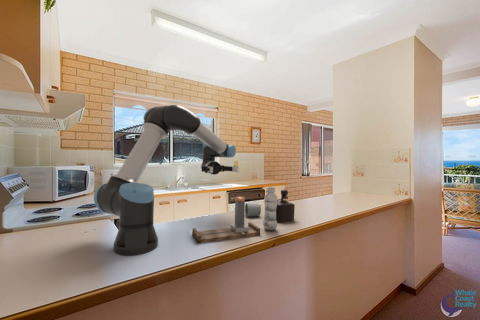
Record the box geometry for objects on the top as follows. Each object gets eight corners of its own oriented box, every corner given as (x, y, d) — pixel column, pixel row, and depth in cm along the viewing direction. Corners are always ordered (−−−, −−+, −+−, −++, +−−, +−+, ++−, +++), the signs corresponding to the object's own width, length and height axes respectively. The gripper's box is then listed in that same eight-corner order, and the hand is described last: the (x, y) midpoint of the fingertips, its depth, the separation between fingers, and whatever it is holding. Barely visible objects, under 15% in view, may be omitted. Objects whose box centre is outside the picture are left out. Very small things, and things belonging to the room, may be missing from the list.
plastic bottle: (272, 227, 113) (273, 186, 113) (279, 231, 107) (280, 188, 107) (260, 228, 111) (261, 187, 111) (267, 232, 105) (268, 189, 104)
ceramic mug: (261, 217, 130) (261, 204, 130) (247, 218, 128) (247, 204, 128) (256, 213, 141) (256, 200, 141) (243, 213, 139) (243, 201, 139)
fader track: (197, 243, 90) (197, 236, 90) (192, 235, 99) (192, 228, 99) (260, 235, 101) (260, 228, 101) (250, 228, 110) (250, 222, 110)
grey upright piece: (236, 233, 98) (236, 199, 98) (230, 228, 105) (230, 196, 104) (248, 231, 101) (249, 198, 100) (242, 226, 107) (242, 195, 107)
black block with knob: (267, 217, 130) (268, 186, 130) (284, 216, 134) (284, 185, 134) (282, 225, 116) (283, 190, 115) (300, 223, 120) (301, 189, 119)
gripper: (232, 173, 139) (247, 177, 120) (191, 174, 129) (200, 177, 110) (232, 161, 139) (247, 162, 120) (191, 161, 129) (200, 162, 110)
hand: (225, 169), depth 115 cm, fingers open, 13 cm apart
